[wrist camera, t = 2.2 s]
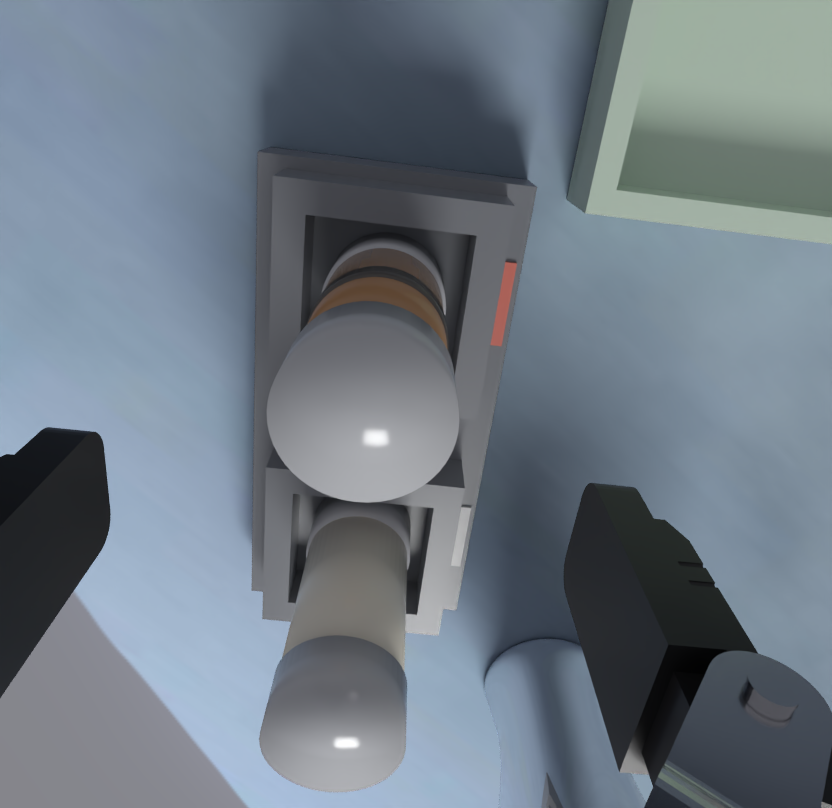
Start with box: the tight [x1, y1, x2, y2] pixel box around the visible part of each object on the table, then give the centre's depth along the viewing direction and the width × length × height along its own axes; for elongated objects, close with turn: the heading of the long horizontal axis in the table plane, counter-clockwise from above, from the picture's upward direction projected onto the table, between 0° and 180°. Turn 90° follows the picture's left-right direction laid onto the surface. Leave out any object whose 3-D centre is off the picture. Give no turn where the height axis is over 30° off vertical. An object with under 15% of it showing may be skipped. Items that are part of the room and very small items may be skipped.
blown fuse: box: [267, 232, 459, 503], centre depth 18 cm, size 4×4×10 cm
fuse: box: [259, 497, 411, 792], centre depth 22 cm, size 4×4×10 cm
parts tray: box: [567, 0, 832, 244], centre depth 20 cm, size 13×10×3 cm
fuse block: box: [252, 147, 537, 636], centre depth 25 cm, size 9×18×4 cm, turn 173°
